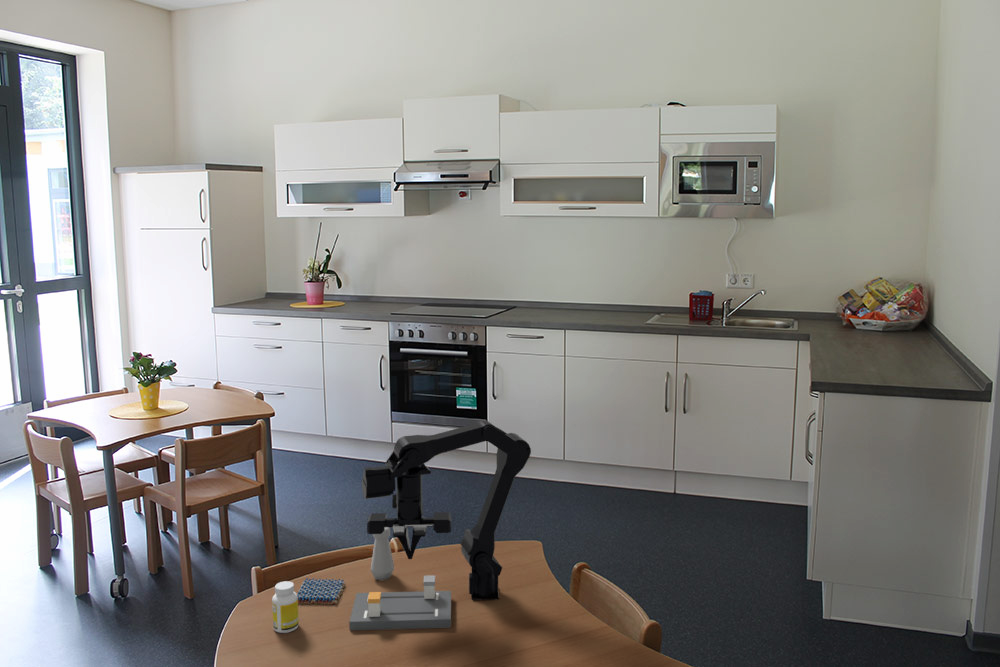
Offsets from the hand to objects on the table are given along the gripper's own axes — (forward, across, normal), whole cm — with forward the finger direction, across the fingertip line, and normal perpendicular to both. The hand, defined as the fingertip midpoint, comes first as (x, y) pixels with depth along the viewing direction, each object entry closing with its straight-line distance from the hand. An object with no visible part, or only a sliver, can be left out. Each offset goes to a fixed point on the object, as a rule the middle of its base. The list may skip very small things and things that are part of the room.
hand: (410, 558), depth 184 cm
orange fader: (+9, +7, +7) cm, 14 cm away
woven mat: (+12, +22, -7) cm, 26 cm away
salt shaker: (+12, +8, -15) cm, 21 cm away
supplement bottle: (+12, +27, +8) cm, 30 cm away
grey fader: (+9, -4, 0) cm, 10 cm away
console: (+12, +2, +4) cm, 12 cm away
